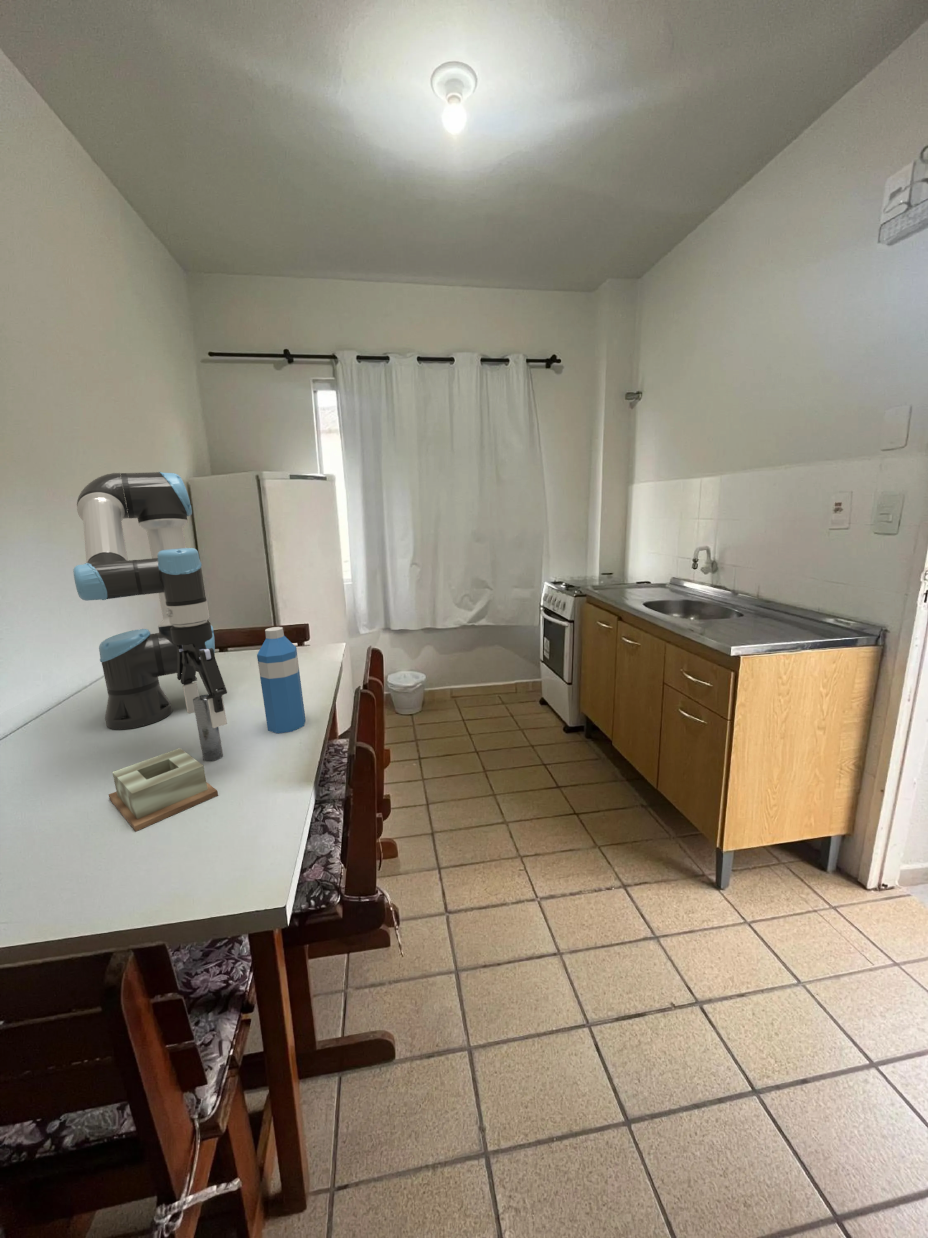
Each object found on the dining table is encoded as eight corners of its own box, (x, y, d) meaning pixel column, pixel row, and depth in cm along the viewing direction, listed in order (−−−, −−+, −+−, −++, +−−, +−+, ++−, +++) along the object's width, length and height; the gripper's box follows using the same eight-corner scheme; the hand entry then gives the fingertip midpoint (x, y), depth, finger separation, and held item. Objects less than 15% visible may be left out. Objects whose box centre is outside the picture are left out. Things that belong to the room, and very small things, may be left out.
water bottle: (294, 734, 123) (281, 634, 117) (259, 732, 125) (244, 633, 119) (313, 718, 132) (301, 624, 126) (280, 717, 134) (267, 624, 128)
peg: (200, 758, 113) (189, 698, 110) (218, 751, 116) (208, 693, 113) (207, 763, 111) (197, 703, 108) (226, 756, 114) (216, 697, 110)
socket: (109, 799, 99) (103, 770, 97) (186, 769, 109) (181, 743, 107) (135, 831, 88) (128, 800, 87) (218, 795, 98) (213, 766, 97)
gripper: (150, 620, 112) (167, 711, 117) (194, 634, 96) (212, 739, 100) (186, 614, 118) (201, 701, 122) (234, 625, 101) (249, 725, 105)
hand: (206, 718), depth 111 cm, fingers open, 13 cm apart
